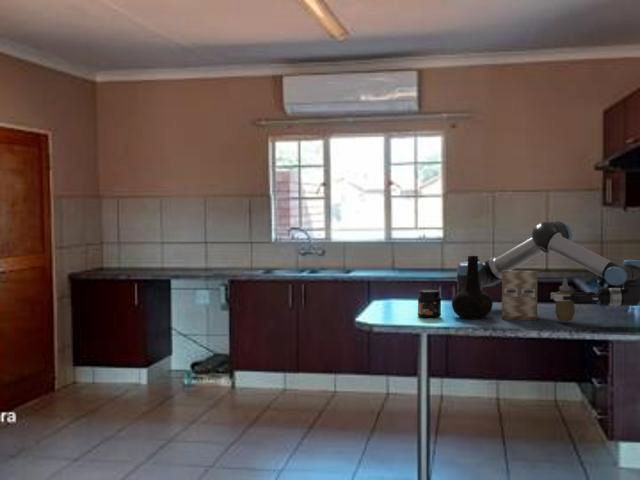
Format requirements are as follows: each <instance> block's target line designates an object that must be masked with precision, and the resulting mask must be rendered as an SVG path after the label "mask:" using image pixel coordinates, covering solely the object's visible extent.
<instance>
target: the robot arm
mask: <svg viewBox="0 0 640 480" xmlns="http://www.w3.org/2000/svg"><path fill="white" fill-rule="evenodd" d="M572 238H573V233H572V229H571V226H569V224H568V223H566V222H564V221H559V220H556V221H543V222H540V223H538V224H537V225H535V226H534V228H533V229H532V233H531V237H530V238H527V240H525V241H523V242H521V243H520V244H518V245H516V246H515V247H513V248H511V249H510V250H508V251H506V252H504V253H503V254H501V255H500V256H498V257H495V256H492V257H490V258H488V259H487V260H485V261H483V262H481V261H478V278H479V286H480V289H481V290H482V291H483V288H486V287H493V286H497V285H498V284H500V283H502V271H514V270H515V269H516V268H517V267H520V266H522V265H523V264H525V263H527V262H529V261H530V260H532V259H534V258H536V257H538V256H539V255H541V254H549V253H551V254H552V253H555V254H557V255H559V256H560V257H563V258H565V259H566V260H568V261H570V262H573V263H574V264H576V265H578V266H580V267H582V268H584V269H586V270H588V271H589V272H592V273H594V274H595V275H597V276H600V277H601V278H603V279H605V281H606V283H607V284H609V285H611V286H622V287H621V288H620V287H609V288H607V287H600V288H598V289H597V292H594V291H584V292H581V291H574V292H573V291H572V292H573V293H571V295H561V294H557V292H550V299H551V300H554V302H556V301H574V303H576V302H578V303H580V302H581V303H585V302H587V303H588V302H589V303H597V305H599V306H600V307H608V306H611V307H612V306H613V307H614V308H617V307H640V260H638V259H624V260H623V262H622V265H619V264H617V263H615V262H613V261H611V260H609V259H608V258H606V257H603V256H602V255H599V254H598V253H596V252H593V251H592V250H590V249H588V248H587V247H586V248H585V247H584V246H581V245H579V244H578V243H576V242H574V241H572ZM467 270H468V261H467V260H466V261H462V262H459V263H458V265H457V269H456V274H457V275H456V278H457V279H456V280H457V281H456V284H457V286H456V289H457V292H456V294H457V293H459V292H461V291H462V290H463V289H464V287H465V283H466V278H467Z"/></svg>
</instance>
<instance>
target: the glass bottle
mask: <svg viewBox="0 0 640 480" xmlns="http://www.w3.org/2000/svg"><path fill="white" fill-rule="evenodd" d="M466 261H468V270H467V278H466V283H465V287H464V289H463V290H462V291H461V292H459V293H457V292H456V294H455V295H454V296H453V297H452V300H451V306H452V310H453V312H454V313H455V315H457V316H458V317H459V318H461V319H464V320H465V319H467V320H480V319H484V318H485V317H487V316H488V315H489V314H490V312H491V311H492V308H493V302H494V301H493V298H492V297H491V296H490V295H489V293H487V292H484V291H483V289H482V290H481V289H480V286H479V278H478V261H480V259H479V256H478V255H468V256H467V260H466ZM480 262H481V261H480Z"/></svg>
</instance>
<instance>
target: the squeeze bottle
mask: <svg viewBox="0 0 640 480" xmlns="http://www.w3.org/2000/svg"><path fill="white" fill-rule="evenodd" d="M571 288H572V287H571V286H569V284H568V279H567V277H563V280H562V283H561V285H560V286H559V288H558V289H559V291H556V293H557V294H561V295H571V293H573V291H572V289H571ZM554 311H555V312H554V313H555V315H556V319H557V320H558V321H561V322H562V321H563V322H570V321H571V322H572V321H573V319H574V316H575V312H576V311H575V302H574V301H555V309H554Z"/></svg>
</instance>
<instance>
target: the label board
mask: <svg viewBox="0 0 640 480" xmlns="http://www.w3.org/2000/svg"><path fill="white" fill-rule="evenodd" d="M501 320H508V321H509V320H511V321H516V320H517V321H538V271H537V270H511V271H502V281H501Z"/></svg>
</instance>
